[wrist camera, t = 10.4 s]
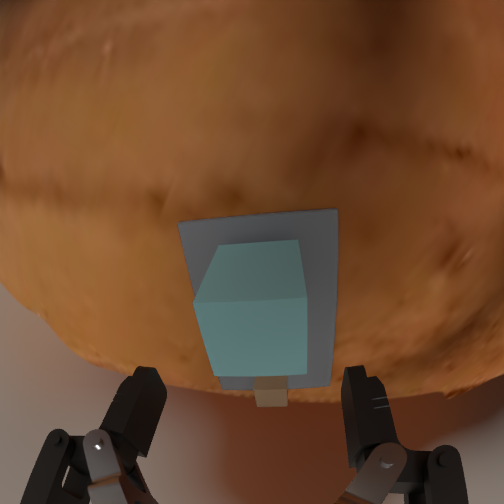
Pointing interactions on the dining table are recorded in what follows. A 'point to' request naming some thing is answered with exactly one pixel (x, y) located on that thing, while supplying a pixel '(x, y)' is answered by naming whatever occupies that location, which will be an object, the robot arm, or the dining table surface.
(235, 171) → the dining table surface
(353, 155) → the dining table surface
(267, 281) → the teal rectangular block
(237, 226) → the stand
